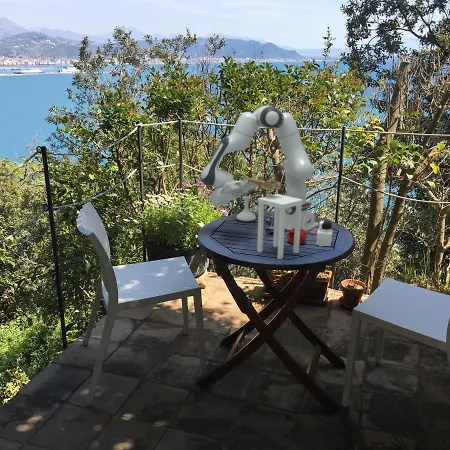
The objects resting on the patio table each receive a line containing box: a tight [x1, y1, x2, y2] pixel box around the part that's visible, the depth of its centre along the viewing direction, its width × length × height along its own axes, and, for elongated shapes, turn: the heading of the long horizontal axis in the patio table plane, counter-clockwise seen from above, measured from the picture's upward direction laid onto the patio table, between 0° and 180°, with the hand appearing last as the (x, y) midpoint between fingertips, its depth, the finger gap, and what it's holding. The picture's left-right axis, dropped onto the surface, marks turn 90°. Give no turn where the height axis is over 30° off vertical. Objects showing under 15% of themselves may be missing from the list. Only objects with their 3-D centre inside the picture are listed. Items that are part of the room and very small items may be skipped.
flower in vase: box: [236, 177, 257, 222], centre depth 263 cm, size 13×11×25 cm
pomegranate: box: [286, 227, 308, 245], centre depth 228 cm, size 10×10×9 cm
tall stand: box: [256, 193, 303, 260], centre depth 211 cm, size 14×15×26 cm
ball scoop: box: [242, 177, 282, 191], centre depth 215 cm, size 6×20×3 cm, turn 43°
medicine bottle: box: [315, 220, 333, 247], centre depth 225 cm, size 7×7×12 cm
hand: (250, 180), depth 219 cm, fingers closed on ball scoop, 2 cm apart
